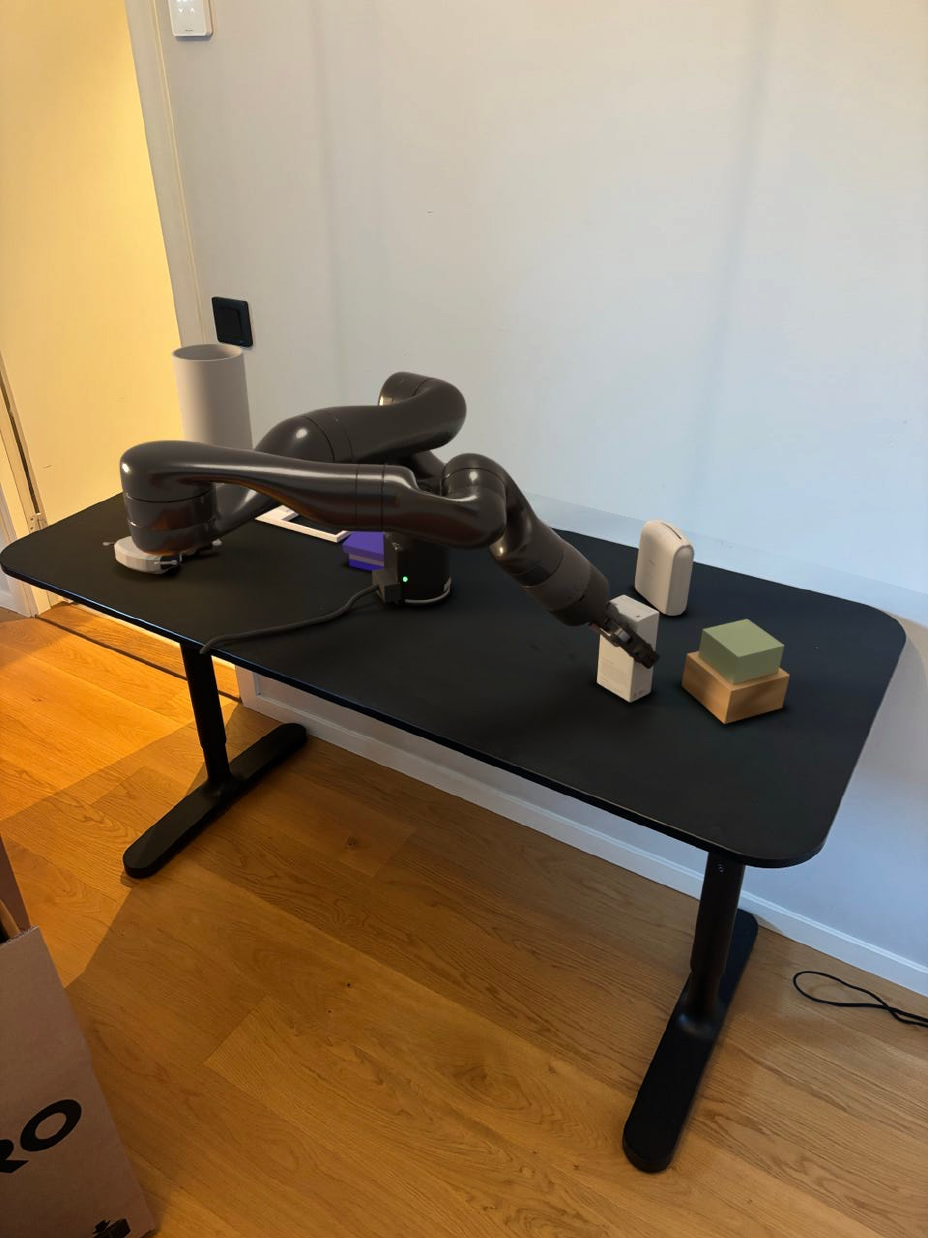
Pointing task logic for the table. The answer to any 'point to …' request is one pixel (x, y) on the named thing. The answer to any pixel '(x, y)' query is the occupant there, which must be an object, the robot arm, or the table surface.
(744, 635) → the upper block
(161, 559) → the robot toy
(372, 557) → the stapler
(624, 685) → the cosmetic box
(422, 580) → the robot arm
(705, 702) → the lower block
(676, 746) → the table surface
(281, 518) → the photo frame
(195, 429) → the cylinder vase
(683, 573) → the photo printer
